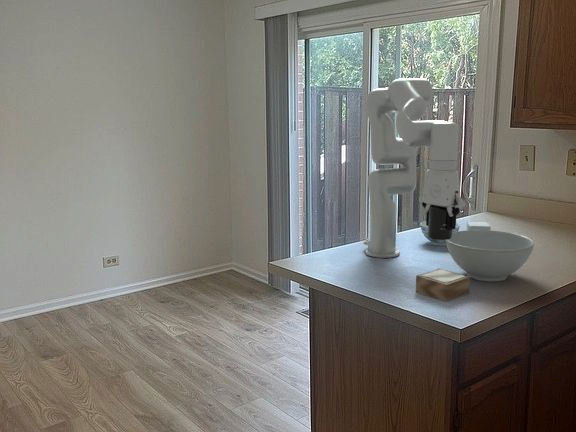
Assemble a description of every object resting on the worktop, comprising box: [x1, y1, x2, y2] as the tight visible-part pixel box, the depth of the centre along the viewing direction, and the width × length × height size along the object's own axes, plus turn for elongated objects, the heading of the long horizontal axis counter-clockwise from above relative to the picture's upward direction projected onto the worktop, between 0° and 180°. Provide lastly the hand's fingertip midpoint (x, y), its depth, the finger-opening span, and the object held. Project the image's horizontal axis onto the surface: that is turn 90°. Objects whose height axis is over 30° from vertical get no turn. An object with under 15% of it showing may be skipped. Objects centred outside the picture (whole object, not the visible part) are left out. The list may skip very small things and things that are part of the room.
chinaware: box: [420, 220, 461, 246], centre depth 225 cm, size 15×15×8 cm
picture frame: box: [415, 268, 471, 302], centre depth 170 cm, size 11×11×5 cm
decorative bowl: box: [445, 229, 535, 282], centre depth 184 cm, size 27×27×12 cm
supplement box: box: [466, 221, 491, 230], centre depth 204 cm, size 7×7×13 cm
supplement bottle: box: [428, 205, 453, 240], centre depth 166 cm, size 7×7×12 cm
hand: (440, 226), depth 167 cm, fingers closed on supplement bottle, 6 cm apart
